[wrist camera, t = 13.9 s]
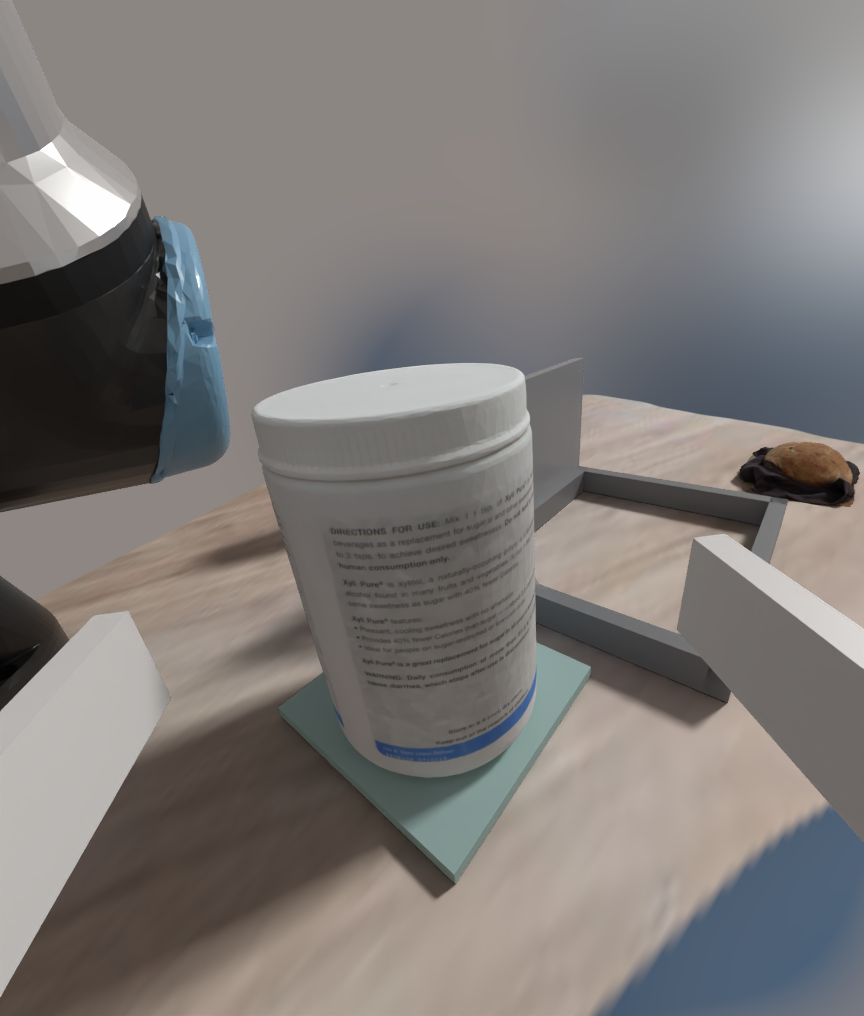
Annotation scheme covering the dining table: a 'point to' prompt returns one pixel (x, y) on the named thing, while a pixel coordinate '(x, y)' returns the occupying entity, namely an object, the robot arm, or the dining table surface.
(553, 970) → the dining table surface
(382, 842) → the dining table surface
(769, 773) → the dining table surface
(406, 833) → the mat
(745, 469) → the bread roll
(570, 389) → the grey open frame
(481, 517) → the supplement tub
